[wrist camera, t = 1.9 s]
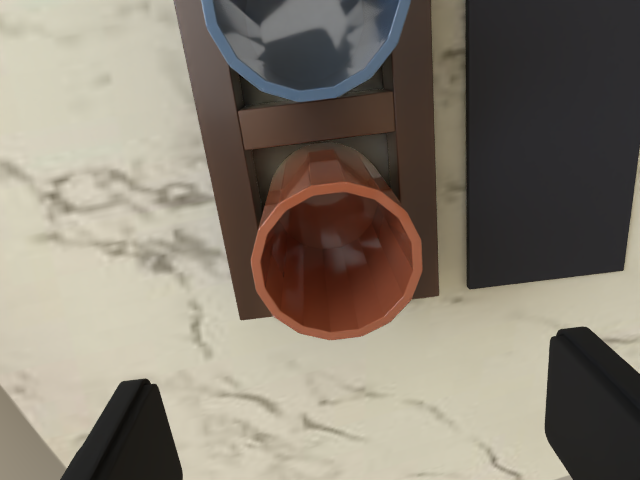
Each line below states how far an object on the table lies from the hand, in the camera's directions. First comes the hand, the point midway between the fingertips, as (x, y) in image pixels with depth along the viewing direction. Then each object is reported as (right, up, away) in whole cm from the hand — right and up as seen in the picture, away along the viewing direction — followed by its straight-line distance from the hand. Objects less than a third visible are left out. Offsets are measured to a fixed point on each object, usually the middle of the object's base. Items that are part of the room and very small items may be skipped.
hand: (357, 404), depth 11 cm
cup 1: (-2, +16, +13) cm, 20 cm away
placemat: (+13, +11, +16) cm, 23 cm away
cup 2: (-1, +6, +17) cm, 18 cm away
